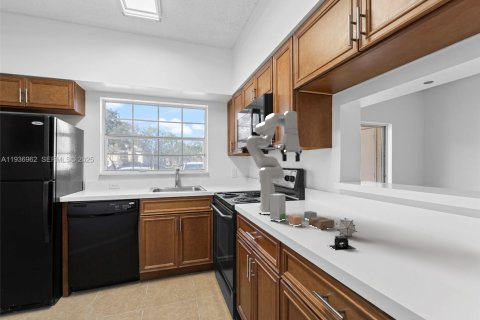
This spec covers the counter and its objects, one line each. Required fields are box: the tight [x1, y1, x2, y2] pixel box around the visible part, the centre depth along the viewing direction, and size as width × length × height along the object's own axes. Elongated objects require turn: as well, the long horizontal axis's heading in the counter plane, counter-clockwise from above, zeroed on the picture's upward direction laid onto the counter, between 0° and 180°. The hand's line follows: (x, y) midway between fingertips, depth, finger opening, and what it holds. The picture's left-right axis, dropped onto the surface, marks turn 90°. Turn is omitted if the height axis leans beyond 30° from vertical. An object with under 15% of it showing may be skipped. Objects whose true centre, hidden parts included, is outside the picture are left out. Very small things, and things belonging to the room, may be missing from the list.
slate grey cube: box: [303, 210, 318, 219], centre depth 136 cm, size 5×5×5 cm
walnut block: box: [308, 216, 335, 230], centre depth 121 cm, size 9×9×4 cm
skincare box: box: [269, 193, 287, 220], centre depth 135 cm, size 8×7×16 cm
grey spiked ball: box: [335, 217, 358, 239], centre depth 105 cm, size 9×8×10 cm
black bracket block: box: [329, 235, 357, 251], centre depth 90 cm, size 12×7×5 cm, turn 102°
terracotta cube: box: [287, 214, 303, 225], centre depth 124 cm, size 5×5×5 cm
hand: (291, 161), depth 134 cm, fingers open, 9 cm apart
